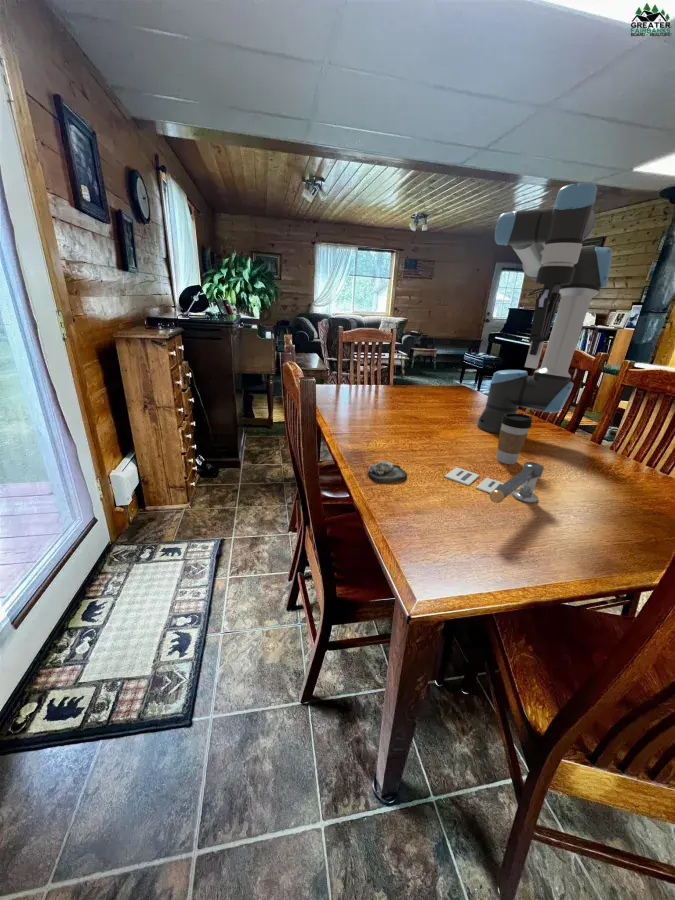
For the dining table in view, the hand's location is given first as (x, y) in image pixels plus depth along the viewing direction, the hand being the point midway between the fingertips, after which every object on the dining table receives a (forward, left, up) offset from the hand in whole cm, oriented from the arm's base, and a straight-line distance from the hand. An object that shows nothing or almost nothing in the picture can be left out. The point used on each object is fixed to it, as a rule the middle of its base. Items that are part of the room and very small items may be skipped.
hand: (530, 367), depth 92 cm
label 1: (+12, -8, -31) cm, 34 cm away
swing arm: (+21, +8, -24) cm, 33 cm away
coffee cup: (-10, -2, -31) cm, 33 cm away
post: (+11, +9, -31) cm, 34 cm away
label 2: (+12, +1, -31) cm, 33 cm away
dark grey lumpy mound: (+26, -24, -32) cm, 47 cm away
